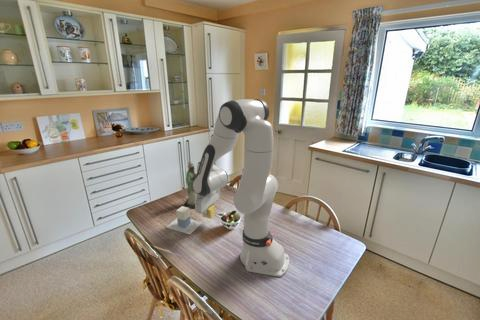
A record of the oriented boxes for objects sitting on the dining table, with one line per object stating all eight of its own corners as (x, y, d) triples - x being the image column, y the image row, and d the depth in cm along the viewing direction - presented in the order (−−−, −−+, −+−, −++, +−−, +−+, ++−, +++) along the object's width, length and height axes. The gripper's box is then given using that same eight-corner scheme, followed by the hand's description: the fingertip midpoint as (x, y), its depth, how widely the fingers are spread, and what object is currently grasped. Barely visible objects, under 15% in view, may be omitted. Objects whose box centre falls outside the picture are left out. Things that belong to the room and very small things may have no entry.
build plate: (202, 223, 136) (202, 222, 136) (190, 235, 126) (190, 234, 126) (179, 217, 142) (179, 215, 142) (166, 228, 132) (165, 226, 132)
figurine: (197, 210, 150) (193, 165, 140) (182, 208, 152) (177, 164, 142) (202, 202, 159) (200, 159, 149) (188, 200, 161) (185, 158, 151)
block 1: (190, 215, 133) (189, 207, 132) (184, 220, 129) (183, 212, 127) (182, 213, 135) (182, 206, 134) (177, 218, 131) (176, 210, 129)
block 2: (190, 223, 135) (190, 215, 133) (185, 228, 131) (184, 220, 129) (183, 221, 137) (182, 213, 135) (178, 226, 133) (177, 218, 131)
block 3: (215, 213, 133) (214, 205, 131) (210, 218, 129) (210, 210, 127) (207, 212, 135) (207, 204, 133) (203, 216, 131) (202, 208, 129)
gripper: (201, 198, 117) (203, 223, 121) (221, 182, 134) (222, 204, 139) (190, 196, 119) (193, 220, 123) (211, 181, 137) (213, 203, 141)
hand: (209, 212), depth 131 cm, fingers closed on block 3, 5 cm apart
